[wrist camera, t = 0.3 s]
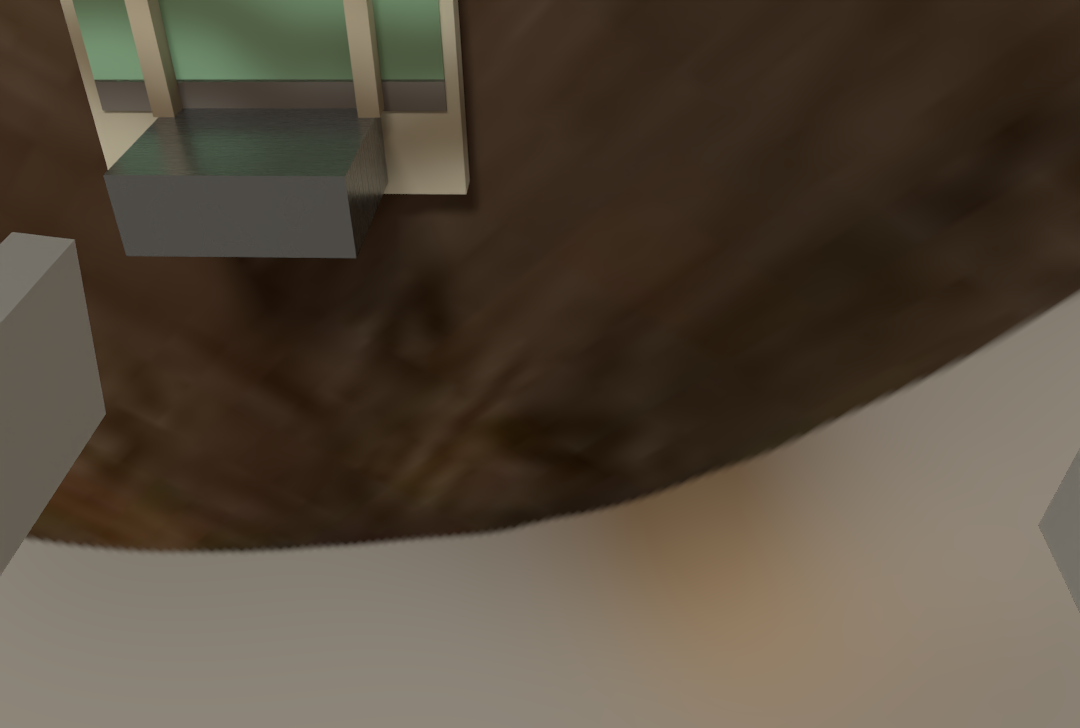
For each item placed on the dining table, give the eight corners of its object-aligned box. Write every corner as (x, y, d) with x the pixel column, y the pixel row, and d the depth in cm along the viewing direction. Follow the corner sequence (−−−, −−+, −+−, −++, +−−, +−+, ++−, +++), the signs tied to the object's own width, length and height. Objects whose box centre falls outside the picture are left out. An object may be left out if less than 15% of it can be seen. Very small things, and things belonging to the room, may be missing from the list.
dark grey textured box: (168, 107, 39) (103, 175, 34) (379, 107, 38) (344, 176, 33) (185, 181, 40) (126, 255, 35) (388, 182, 40) (356, 258, 35)
